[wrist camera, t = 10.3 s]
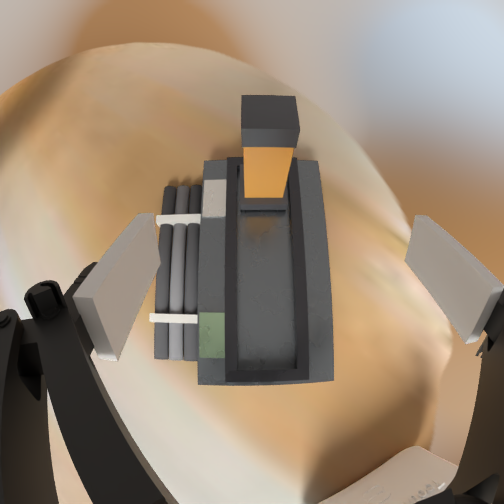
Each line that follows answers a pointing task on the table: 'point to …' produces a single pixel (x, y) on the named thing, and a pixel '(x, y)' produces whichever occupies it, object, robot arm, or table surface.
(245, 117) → the breaker toggle
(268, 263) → the breaker panel
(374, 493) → the cable organizer
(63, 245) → the table surface
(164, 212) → the cord bundle
